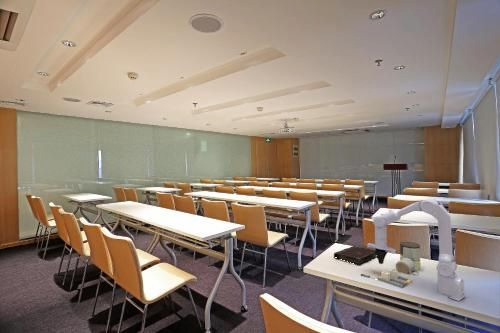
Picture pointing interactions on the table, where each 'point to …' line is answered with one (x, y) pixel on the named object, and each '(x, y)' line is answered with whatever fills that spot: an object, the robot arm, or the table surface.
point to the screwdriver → (367, 276)
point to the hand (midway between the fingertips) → (381, 263)
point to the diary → (356, 255)
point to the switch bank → (397, 281)
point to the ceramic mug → (406, 266)
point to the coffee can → (411, 252)
